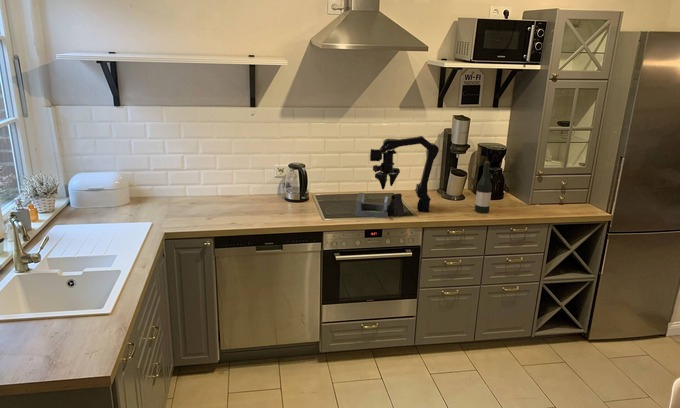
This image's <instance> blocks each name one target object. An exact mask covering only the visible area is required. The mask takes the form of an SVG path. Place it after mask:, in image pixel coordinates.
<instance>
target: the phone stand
mask: <svg viewBox="0 0 680 408" xmlns="http://www.w3.org/2000/svg"><path fill="white" fill-rule="evenodd" d="M402 198H403V194H402V193H400V192H397V193H394V194H392V195H391V198H390V202H389V203H388V204H389V207H388V209H387V212H388V216H392V217H397V218H400V217H403V216H405V215H406V213H405V208H404V204H403V199H402Z"/></svg>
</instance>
